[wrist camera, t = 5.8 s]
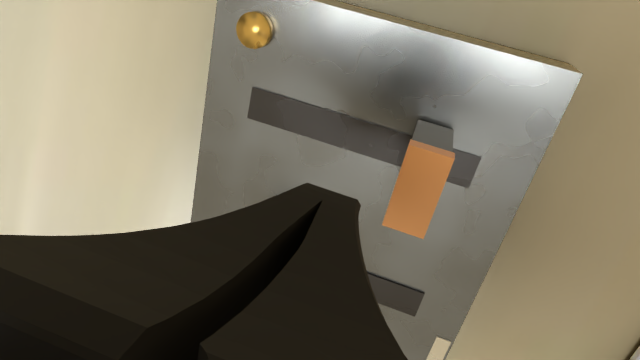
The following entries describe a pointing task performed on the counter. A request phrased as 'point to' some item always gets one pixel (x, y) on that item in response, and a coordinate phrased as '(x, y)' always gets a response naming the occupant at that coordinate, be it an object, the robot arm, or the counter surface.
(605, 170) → the counter surface
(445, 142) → the tagged lever
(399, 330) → the panel
